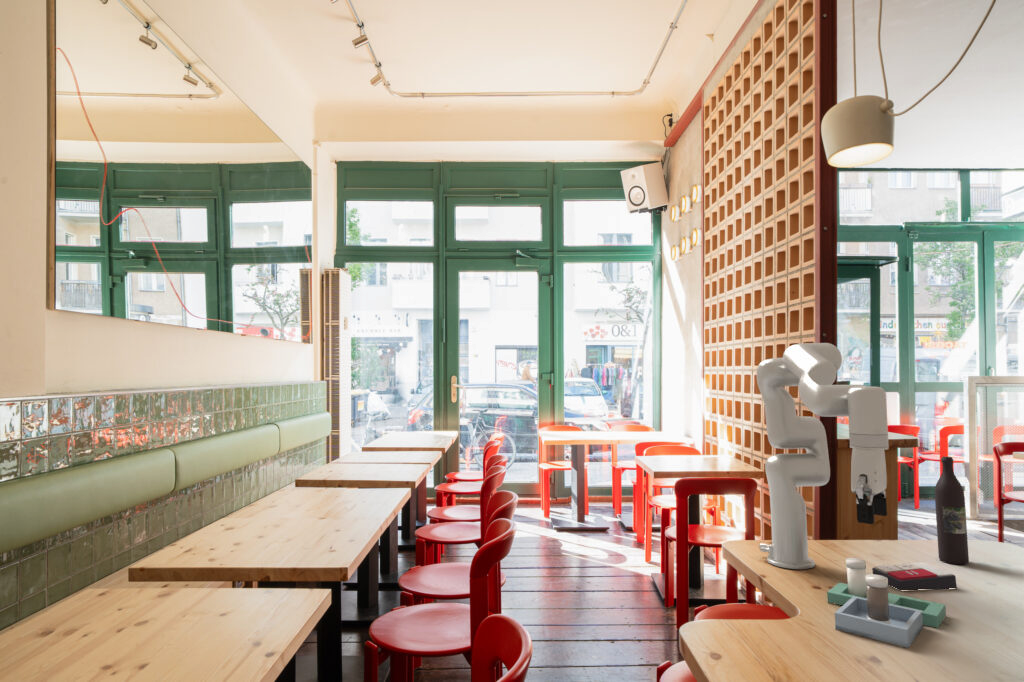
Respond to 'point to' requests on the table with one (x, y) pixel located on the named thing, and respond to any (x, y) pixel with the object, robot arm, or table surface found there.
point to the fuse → (856, 577)
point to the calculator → (916, 576)
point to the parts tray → (897, 632)
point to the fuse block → (930, 610)
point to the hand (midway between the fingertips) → (872, 518)
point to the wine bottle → (951, 516)
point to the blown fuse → (877, 598)
